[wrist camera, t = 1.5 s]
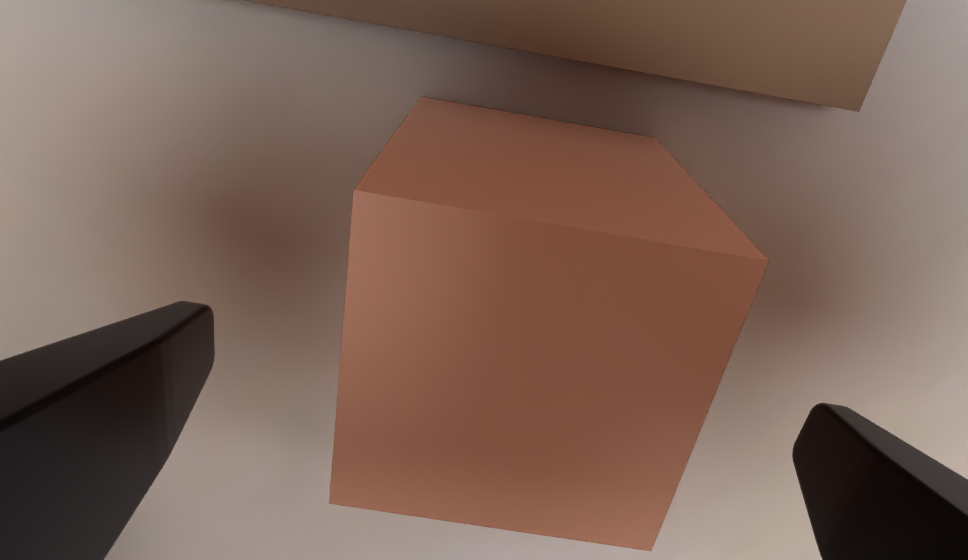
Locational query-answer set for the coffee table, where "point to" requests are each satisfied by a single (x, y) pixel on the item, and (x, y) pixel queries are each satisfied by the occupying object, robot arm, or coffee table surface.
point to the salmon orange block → (531, 325)
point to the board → (669, 37)
